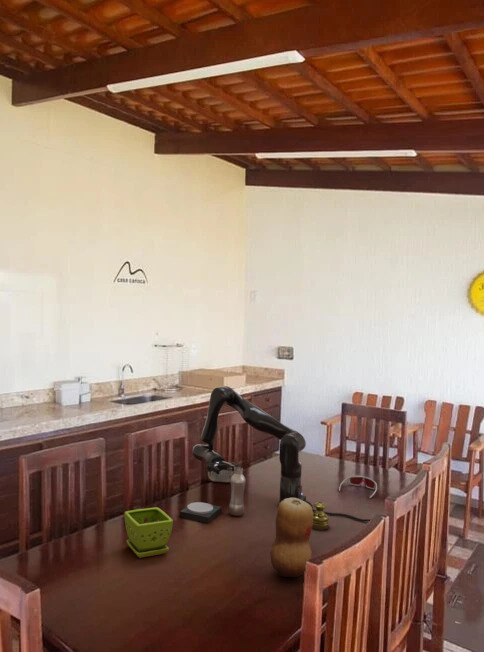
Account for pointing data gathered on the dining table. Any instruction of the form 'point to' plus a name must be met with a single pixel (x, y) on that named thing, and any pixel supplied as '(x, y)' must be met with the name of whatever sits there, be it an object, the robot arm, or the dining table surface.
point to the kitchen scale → (201, 512)
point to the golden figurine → (320, 517)
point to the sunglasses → (359, 479)
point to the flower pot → (148, 531)
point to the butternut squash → (292, 537)
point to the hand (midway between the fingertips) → (227, 471)
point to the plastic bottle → (237, 492)
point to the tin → (220, 476)
